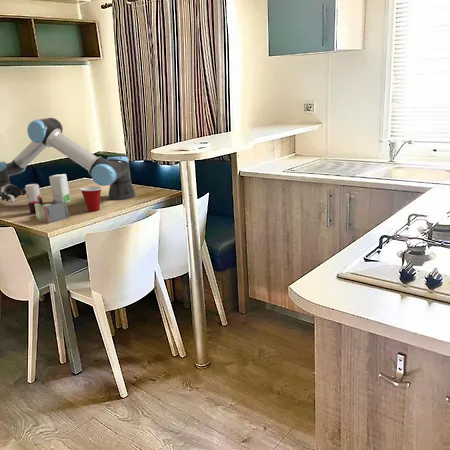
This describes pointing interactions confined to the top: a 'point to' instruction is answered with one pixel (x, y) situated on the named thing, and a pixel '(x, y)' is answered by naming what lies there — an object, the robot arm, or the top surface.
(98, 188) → the plastic cup
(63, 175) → the skincare box
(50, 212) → the grey desk organizer
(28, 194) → the beverage can
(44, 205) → the plunger
